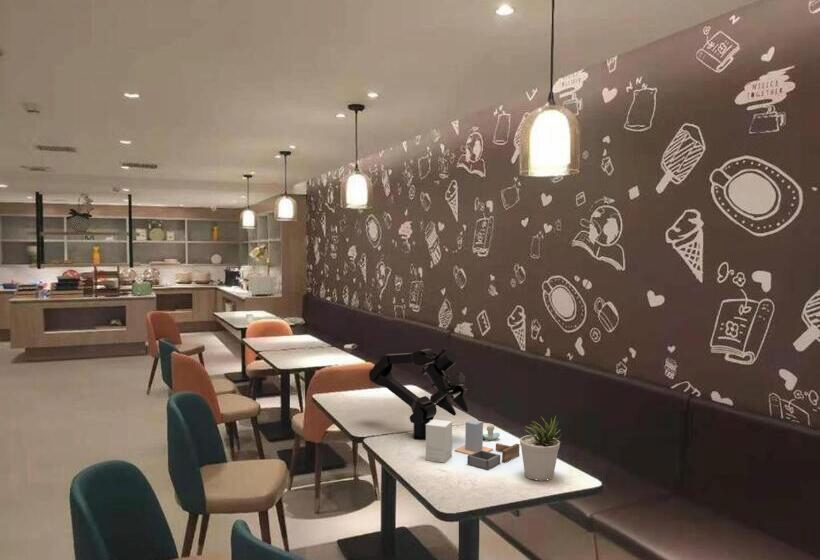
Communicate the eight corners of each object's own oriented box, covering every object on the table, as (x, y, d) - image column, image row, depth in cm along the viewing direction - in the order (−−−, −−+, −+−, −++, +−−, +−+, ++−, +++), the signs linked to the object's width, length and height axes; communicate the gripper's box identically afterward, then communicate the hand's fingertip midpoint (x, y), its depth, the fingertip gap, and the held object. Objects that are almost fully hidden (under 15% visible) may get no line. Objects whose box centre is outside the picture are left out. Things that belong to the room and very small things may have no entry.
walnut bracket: (482, 456, 207) (482, 445, 206) (497, 449, 214) (497, 438, 214) (505, 462, 201) (505, 451, 201) (519, 455, 209) (519, 444, 209)
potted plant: (536, 487, 180) (538, 423, 179) (511, 472, 193) (512, 411, 192) (569, 481, 185) (571, 419, 184) (543, 466, 198) (544, 408, 197)
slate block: (465, 449, 213) (465, 422, 212) (471, 446, 216) (472, 419, 216) (475, 452, 210) (476, 424, 210) (482, 449, 213) (482, 421, 213)
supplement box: (452, 456, 207) (453, 421, 206) (444, 463, 200) (445, 426, 199) (433, 453, 210) (433, 418, 209) (424, 460, 203) (425, 423, 202)
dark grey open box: (467, 464, 199) (467, 455, 199) (480, 458, 205) (480, 449, 205) (487, 470, 194) (487, 461, 194) (500, 463, 200) (500, 454, 200)
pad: (454, 451, 212) (454, 449, 212) (469, 444, 220) (469, 442, 220) (478, 457, 206) (478, 456, 206) (492, 450, 214) (492, 448, 214)
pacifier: (477, 437, 229) (483, 442, 223) (477, 421, 229) (484, 425, 223) (494, 436, 231) (501, 440, 225) (494, 420, 231) (501, 424, 225)
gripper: (440, 367, 211) (464, 404, 206) (464, 363, 227) (487, 397, 221) (419, 385, 216) (442, 421, 210) (445, 379, 231) (467, 413, 226)
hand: (461, 413), depth 217 cm, fingers open, 9 cm apart
